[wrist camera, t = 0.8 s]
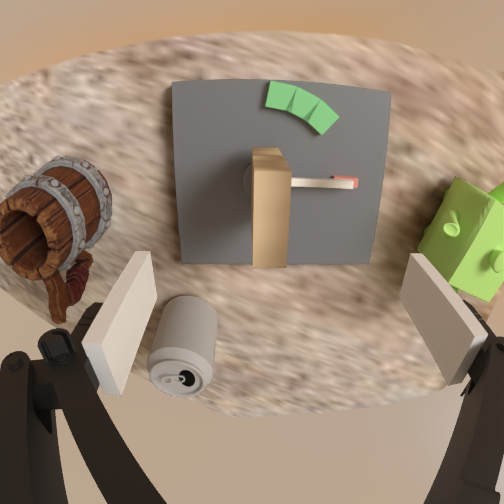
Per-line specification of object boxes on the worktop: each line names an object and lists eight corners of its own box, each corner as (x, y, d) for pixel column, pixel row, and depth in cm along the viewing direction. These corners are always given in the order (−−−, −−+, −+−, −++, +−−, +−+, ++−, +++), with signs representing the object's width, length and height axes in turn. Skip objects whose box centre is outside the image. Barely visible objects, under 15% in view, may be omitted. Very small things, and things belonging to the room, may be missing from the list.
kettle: (415, 285, 42) (450, 337, 32) (394, 195, 36) (441, 234, 26) (494, 245, 39) (538, 284, 29) (485, 156, 33) (542, 182, 23)
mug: (95, 130, 31) (26, 192, 19) (141, 232, 40) (110, 323, 28) (24, 165, 32) (-46, 232, 20) (71, 252, 41) (30, 334, 29)
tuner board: (184, 255, 39) (180, 266, 36) (176, 82, 30) (170, 81, 27) (364, 256, 39) (371, 267, 37) (383, 92, 30) (394, 92, 27)
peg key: (243, 210, 34) (241, 267, 23) (243, 143, 31) (241, 171, 20) (345, 212, 34) (385, 267, 24) (352, 148, 31) (401, 179, 20)
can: (218, 336, 45) (212, 404, 34) (166, 333, 44) (149, 398, 34) (218, 293, 41) (210, 361, 31) (161, 289, 41) (137, 355, 30)
